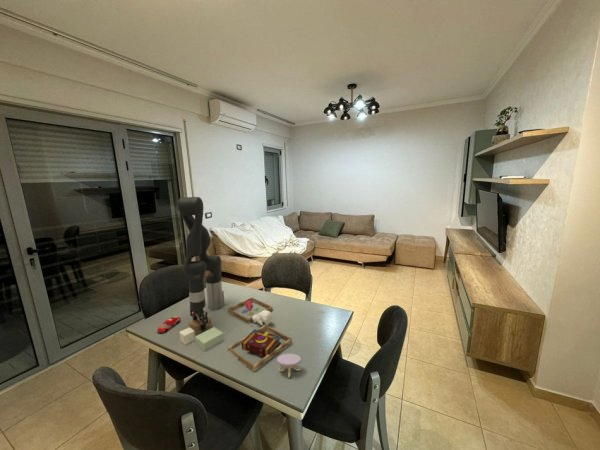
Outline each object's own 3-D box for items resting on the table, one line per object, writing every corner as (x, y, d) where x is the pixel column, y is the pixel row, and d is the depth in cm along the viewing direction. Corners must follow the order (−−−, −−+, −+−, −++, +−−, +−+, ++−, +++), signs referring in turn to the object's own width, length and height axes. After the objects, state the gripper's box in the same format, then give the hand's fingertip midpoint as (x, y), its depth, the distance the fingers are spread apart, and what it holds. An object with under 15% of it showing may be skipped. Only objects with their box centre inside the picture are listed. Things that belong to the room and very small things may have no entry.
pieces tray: (251, 300, 161) (251, 297, 161) (272, 310, 149) (272, 306, 148) (227, 312, 147) (227, 308, 147) (248, 324, 135) (248, 320, 134)
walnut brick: (205, 325, 134) (204, 315, 133) (211, 328, 131) (210, 318, 130) (189, 333, 127) (188, 322, 126) (196, 337, 124) (195, 326, 123)
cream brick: (190, 337, 123) (189, 327, 122) (195, 341, 120) (194, 330, 119) (180, 342, 119) (179, 331, 118) (185, 347, 116) (184, 335, 115)
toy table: (274, 377, 98) (274, 365, 97) (280, 361, 107) (279, 350, 106) (298, 380, 96) (298, 367, 95) (302, 364, 105) (302, 352, 104)
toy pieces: (237, 310, 150) (237, 303, 149) (253, 304, 157) (252, 298, 156) (247, 318, 141) (247, 311, 140) (263, 311, 148) (263, 304, 148)
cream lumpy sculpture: (266, 314, 128) (248, 311, 133) (268, 329, 129) (250, 326, 135) (272, 309, 134) (255, 306, 139) (274, 323, 135) (256, 320, 140)
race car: (163, 335, 126) (162, 328, 125) (155, 333, 128) (154, 326, 127) (182, 321, 138) (181, 315, 137) (175, 319, 140) (174, 313, 139)
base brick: (214, 334, 124) (214, 327, 123) (223, 340, 119) (223, 333, 118) (195, 344, 117) (195, 336, 116) (204, 351, 112) (203, 343, 111)
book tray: (265, 328, 130) (265, 324, 130) (291, 343, 119) (291, 338, 118) (227, 352, 112) (227, 347, 112) (254, 372, 101) (253, 366, 100)
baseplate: (214, 333, 126) (214, 331, 126) (227, 343, 119) (227, 341, 119) (191, 345, 117) (191, 343, 117) (204, 356, 110) (204, 354, 110)
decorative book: (269, 359, 107) (269, 349, 106) (239, 350, 113) (238, 340, 112) (281, 344, 118) (281, 334, 117) (252, 336, 124) (252, 327, 123)
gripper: (211, 300, 124) (213, 329, 126) (197, 292, 133) (199, 319, 136) (197, 305, 118) (199, 335, 121) (183, 297, 127) (186, 325, 130)
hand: (199, 327), depth 128 cm, fingers open, 8 cm apart
